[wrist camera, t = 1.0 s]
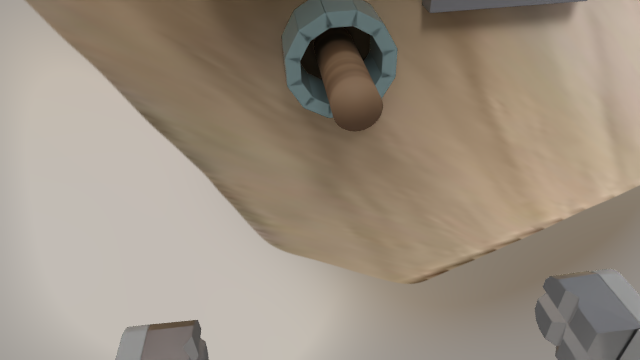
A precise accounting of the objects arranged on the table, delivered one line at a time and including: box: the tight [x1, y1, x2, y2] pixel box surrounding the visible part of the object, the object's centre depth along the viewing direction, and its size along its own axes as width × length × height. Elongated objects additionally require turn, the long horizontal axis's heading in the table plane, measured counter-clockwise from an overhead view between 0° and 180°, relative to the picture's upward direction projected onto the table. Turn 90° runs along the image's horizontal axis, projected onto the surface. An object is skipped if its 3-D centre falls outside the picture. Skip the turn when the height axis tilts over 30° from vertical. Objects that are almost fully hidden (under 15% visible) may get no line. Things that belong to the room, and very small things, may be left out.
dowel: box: [313, 27, 383, 131], centre depth 36 cm, size 4×4×12 cm
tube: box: [282, 0, 397, 118], centre depth 39 cm, size 9×9×5 cm
